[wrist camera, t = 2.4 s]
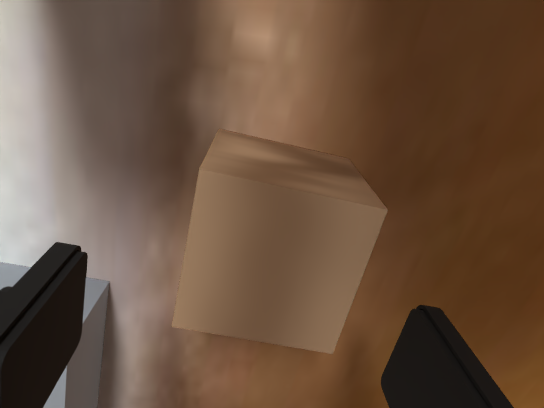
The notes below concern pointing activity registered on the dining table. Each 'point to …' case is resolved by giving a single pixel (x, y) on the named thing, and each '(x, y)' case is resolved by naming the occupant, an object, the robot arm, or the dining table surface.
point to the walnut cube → (275, 243)
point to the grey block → (88, 356)
